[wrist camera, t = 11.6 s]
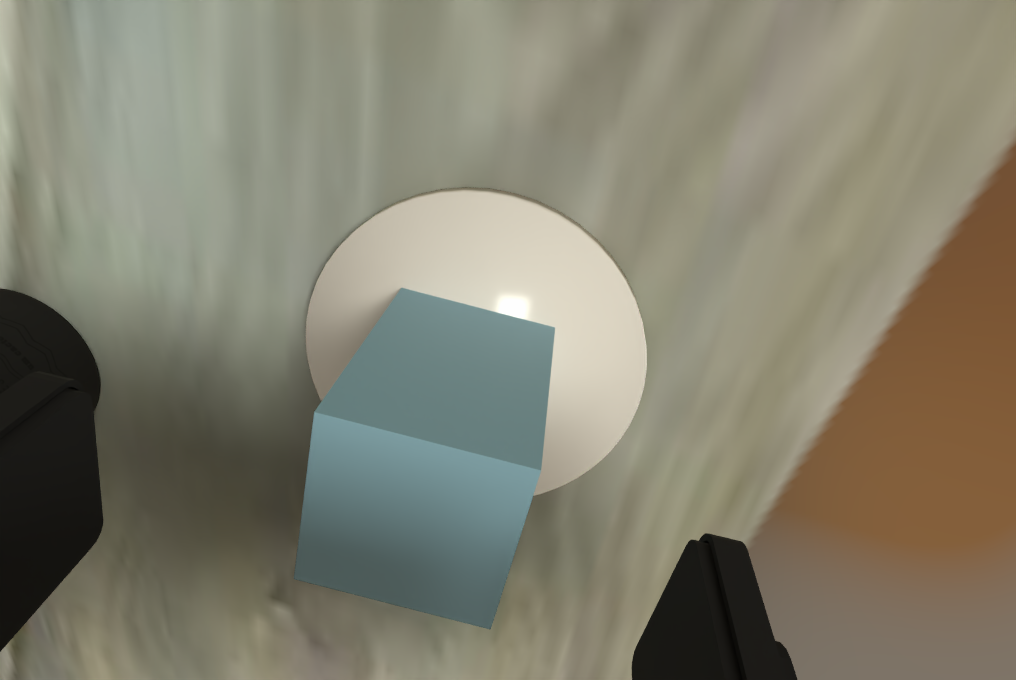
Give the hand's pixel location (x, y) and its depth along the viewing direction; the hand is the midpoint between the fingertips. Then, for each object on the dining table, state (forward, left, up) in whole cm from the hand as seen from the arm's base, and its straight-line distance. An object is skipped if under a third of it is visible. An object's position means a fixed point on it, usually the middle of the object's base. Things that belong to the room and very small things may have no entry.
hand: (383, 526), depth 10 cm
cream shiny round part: (+1, 0, -8) cm, 8 cm away
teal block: (+1, 0, -8) cm, 8 cm away
